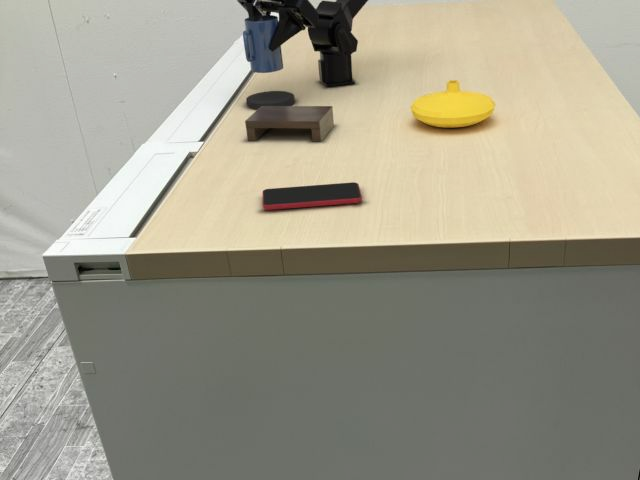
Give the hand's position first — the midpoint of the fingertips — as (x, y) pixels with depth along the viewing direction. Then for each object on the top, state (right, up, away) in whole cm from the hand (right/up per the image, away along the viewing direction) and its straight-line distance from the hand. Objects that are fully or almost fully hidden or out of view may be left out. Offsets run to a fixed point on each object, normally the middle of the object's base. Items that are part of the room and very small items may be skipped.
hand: (259, 47), depth 164 cm
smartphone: (+13, -44, -37) cm, 59 cm away
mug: (+1, -2, +3) cm, 4 cm away
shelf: (+7, -21, -10) cm, 25 cm away
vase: (+38, -19, -9) cm, 43 cm away
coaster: (+1, -7, +7) cm, 11 cm away
